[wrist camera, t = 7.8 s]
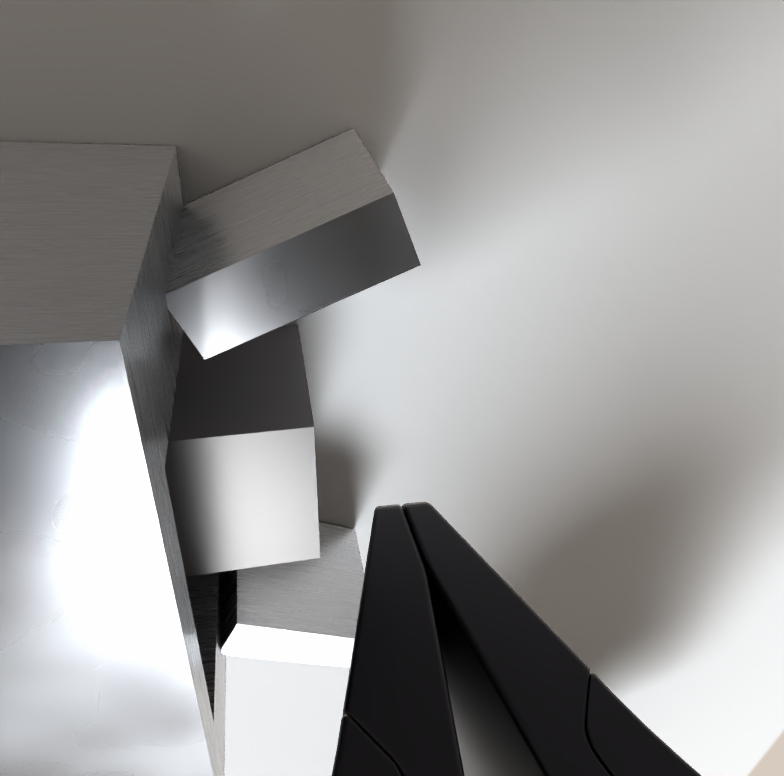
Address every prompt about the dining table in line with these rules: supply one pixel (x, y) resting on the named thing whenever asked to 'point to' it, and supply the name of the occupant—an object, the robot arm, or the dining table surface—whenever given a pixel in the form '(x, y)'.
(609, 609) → the dining table surface
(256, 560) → the plug
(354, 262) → the housing
